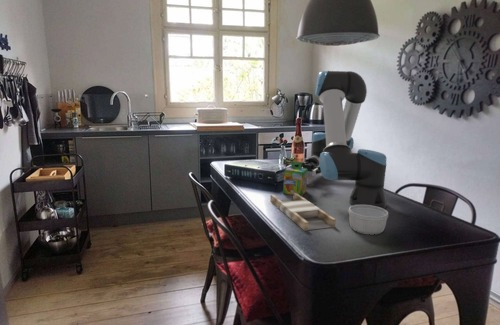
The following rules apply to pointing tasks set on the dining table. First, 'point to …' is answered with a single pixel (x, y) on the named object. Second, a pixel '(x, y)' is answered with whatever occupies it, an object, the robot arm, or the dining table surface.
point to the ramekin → (367, 219)
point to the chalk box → (295, 179)
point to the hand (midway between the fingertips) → (299, 171)
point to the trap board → (304, 213)
